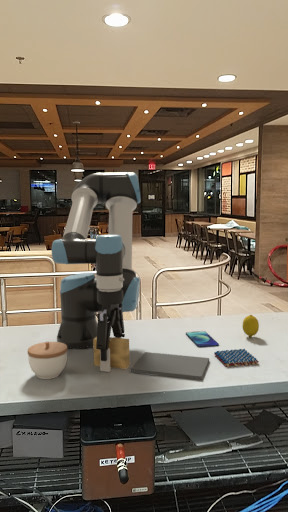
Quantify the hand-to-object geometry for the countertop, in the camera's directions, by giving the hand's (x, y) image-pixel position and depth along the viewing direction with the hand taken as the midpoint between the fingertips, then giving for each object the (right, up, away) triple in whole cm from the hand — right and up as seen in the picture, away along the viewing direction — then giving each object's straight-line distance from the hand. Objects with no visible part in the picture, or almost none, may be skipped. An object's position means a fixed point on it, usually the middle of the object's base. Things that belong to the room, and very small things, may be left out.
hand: (111, 364), depth 124 cm
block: (0, 0, 0) cm, 0 cm away
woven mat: (+37, 0, +3) cm, 37 cm away
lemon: (+47, +3, +24) cm, 53 cm away
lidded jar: (-17, -2, -6) cm, 18 cm away
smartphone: (+29, +2, +22) cm, 37 cm away
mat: (+17, 0, -1) cm, 17 cm away
